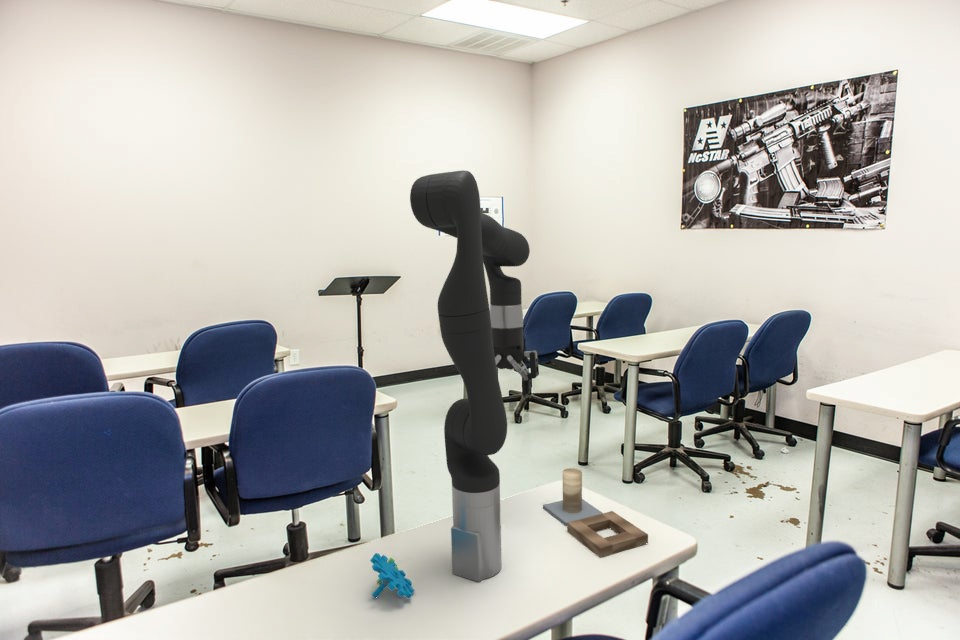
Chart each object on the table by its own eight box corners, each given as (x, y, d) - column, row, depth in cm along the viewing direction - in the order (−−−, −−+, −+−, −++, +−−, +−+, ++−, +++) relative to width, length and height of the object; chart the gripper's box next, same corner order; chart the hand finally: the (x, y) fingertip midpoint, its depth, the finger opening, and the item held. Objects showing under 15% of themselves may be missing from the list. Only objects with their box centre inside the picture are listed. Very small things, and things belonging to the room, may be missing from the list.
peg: (577, 514, 136) (577, 477, 135) (559, 510, 138) (559, 473, 137) (584, 507, 140) (584, 470, 138) (567, 503, 142) (567, 467, 141)
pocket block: (647, 543, 124) (648, 534, 124) (600, 557, 119) (600, 548, 119) (612, 519, 135) (612, 510, 135) (567, 531, 130) (567, 522, 130)
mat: (603, 516, 137) (603, 513, 136) (566, 526, 132) (566, 522, 132) (578, 499, 146) (578, 496, 146) (542, 508, 142) (542, 504, 141)
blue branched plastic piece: (416, 601, 104) (373, 564, 103) (393, 627, 103) (350, 590, 103) (416, 574, 115) (377, 540, 114) (395, 598, 114) (356, 564, 114)
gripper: (470, 325, 133) (472, 396, 136) (532, 327, 128) (533, 401, 131) (482, 321, 140) (483, 388, 143) (541, 322, 135) (542, 392, 138)
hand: (507, 394), depth 137 cm, fingers open, 8 cm apart
